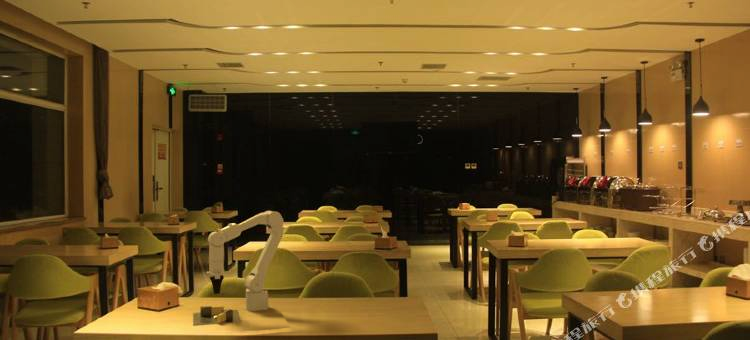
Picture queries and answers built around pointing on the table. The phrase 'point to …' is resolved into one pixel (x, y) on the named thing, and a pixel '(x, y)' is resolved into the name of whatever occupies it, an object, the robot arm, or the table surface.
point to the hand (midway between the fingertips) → (216, 293)
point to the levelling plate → (213, 319)
